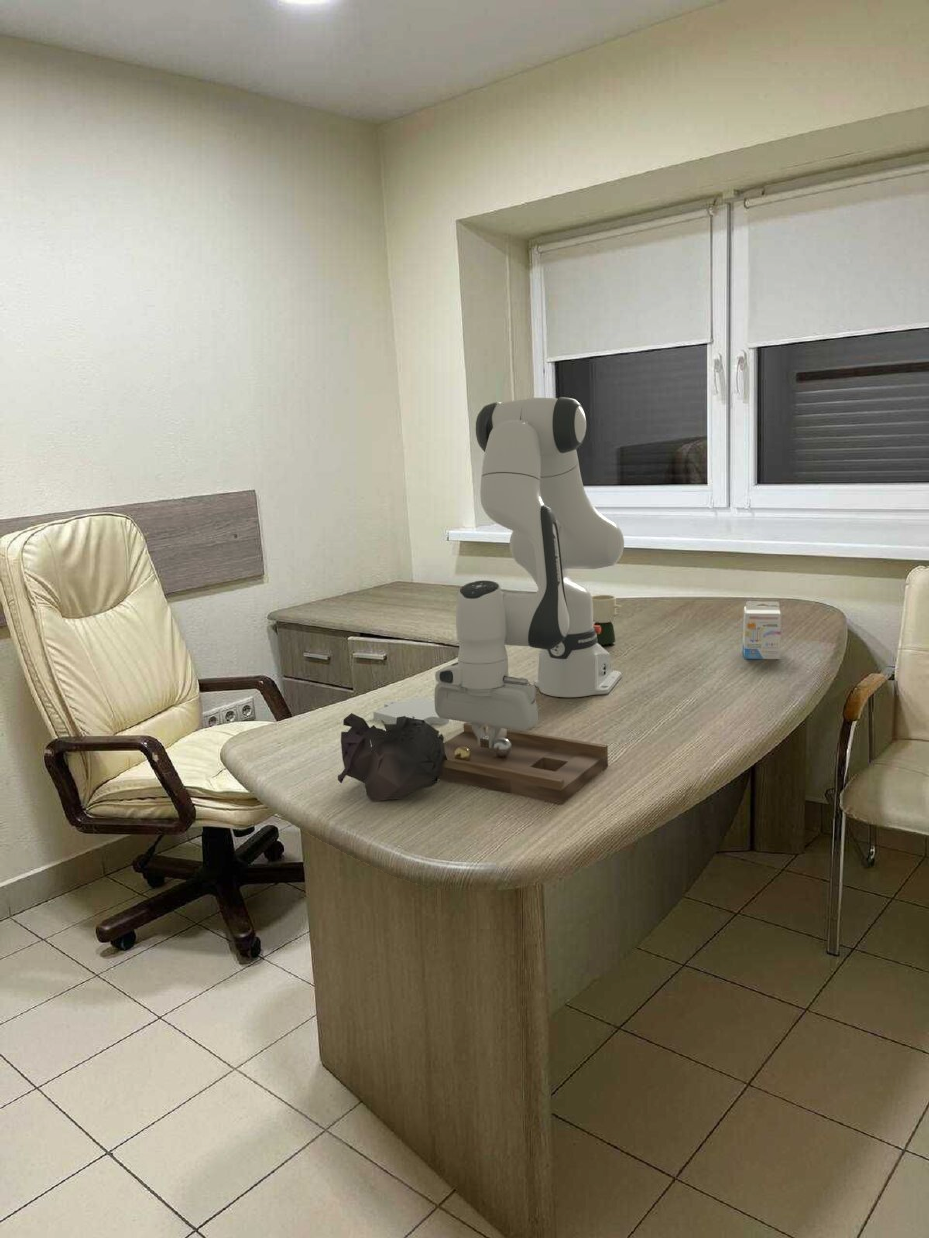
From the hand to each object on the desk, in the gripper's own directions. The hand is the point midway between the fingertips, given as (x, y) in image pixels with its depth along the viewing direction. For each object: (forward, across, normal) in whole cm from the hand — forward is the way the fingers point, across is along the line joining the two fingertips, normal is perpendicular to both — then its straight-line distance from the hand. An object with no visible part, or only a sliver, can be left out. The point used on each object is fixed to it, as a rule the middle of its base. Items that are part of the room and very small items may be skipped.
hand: (487, 746), depth 165 cm
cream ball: (-1, +2, -6) cm, 6 cm away
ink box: (+4, -23, -92) cm, 95 cm away
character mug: (+4, +18, -88) cm, 90 cm away
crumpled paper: (+4, +7, +18) cm, 19 cm away
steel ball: (0, -3, 0) cm, 3 cm away
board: (+4, -4, 0) cm, 6 cm away
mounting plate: (+4, +30, -18) cm, 35 cm away
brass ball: (0, +2, +6) cm, 6 cm away
